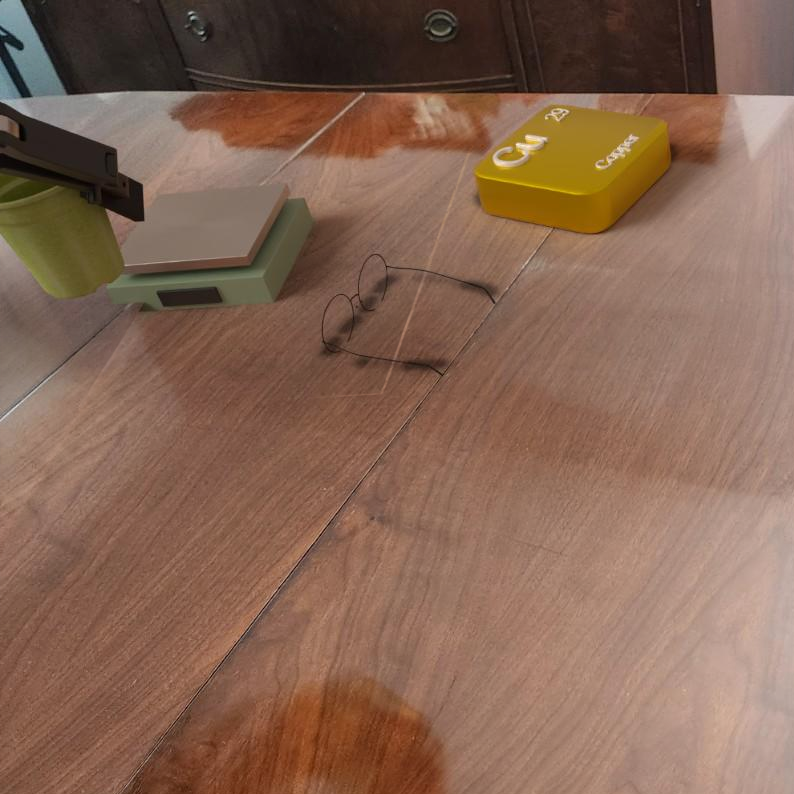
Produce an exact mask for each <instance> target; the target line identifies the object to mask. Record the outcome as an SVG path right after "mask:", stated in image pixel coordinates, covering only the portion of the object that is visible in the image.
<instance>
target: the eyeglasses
mask: <svg viewBox="0 0 794 794" xmlns="http://www.w3.org/2000/svg"><path fill="white" fill-rule="evenodd" d="M373 256H379V257H380V258H381V259H382V261H383V263H384V266H385V272H386V273H385V274H386V283H385V288H384V291H383V295H382V297H381V300H380V302H383V300H384V297H385V296H386V291H387V288H388V282H389V281H388V279H389V276H388V275H389V274H388V268H391V269H397V270H411V271H419V272H420V271H421V272H426V273H431V274H434V275H438V276H441V277H444V278H447V279H451V280H454V281H457V282H461V283H464V284H467V285H469V286H471V287H475V288H478V289H482V290H483V291H485V293H486V294H487V296H488V298H489V299H490V300H491V302H492V304H493V305H495V304H497V302H496V301H495V299H494V298H493V297H492V295H491V294H490V292H489V291H488V290H487V288H486V287H484V286H481V285H478V284H475V283H472V282H468V281H465V280H461V279H458V278H454V277H452V276H447V275H444V274H440V273H438V272H435V271H431V270H426V269H420V268H412V267H411V268H410V267H396V266H391V265H387V263H386V261H385V258H384V257H383V256H382V255H380V254H378V253H373V254H371V255H369V256H368V257H367V258H366V259H365V261H364V262H363V263H362V264H363V265H362V266H361V269H360V272H359V276H358V280H357V293H355V294H354V295H352V296H351V297H350V298H349V296H348V295H346V294H345V293H338V294H336V295H334V296H333V297H332V298H331V299H330V300H329V301H328V303H327V305H326V307H325V309H324V312H323V315H322V320H321V321H322V322H321V339H322V341H321V342H322V344H324V346H325V348H326V350H328V351H329V352H330V353H334V354H336V353H339V352H341V351H343V352H346V353H348V354H352V355H355V356H358V357H363V358H368V359H376V360H382V361H388V362H394V363H402V364H407V365H413V366H422V367H428V368H430V369H431V370H432V371H434V372H435V373H437V374H438V375H440V376H441V377H443V376H444V374H443V372H441V371H439V370H437V369H436V368H435V367H433V366H431V365H429V364H425V363H420V362H412V361H402V360H397V359H390V358H389V359H388V358H383V357H376V356H369V355H362V354H358V353H355V352H351V351H349V350H346V349H344V348H342V347H339V346H336V345H334V344H333V343H330V342H326V341H325V338H324V319H325V316H326V313H327V309H328V308H329V305H331V303H332V301H333V300H334V299H335V298H336V297H338V296H343V297H346V298H347V300H348V301H349V303H350V306H351V310H352V325H351V329H350V334H349V336H348V339H347V340H346V343H348V342H349V341H350V339H351V336H352V334H353V330H354V325H355V309H354V305H353V302H352V301H353V299H354V298H355V297H358V301H359V303H360V305H361V307H362V308H363V309H364V311H366V312H373V311H375V310H376V307H374V308H373V309H367V308H366V307H364V305H363V303H364V301H363V299H362V300H361V297H360V296H361V295H360V281H361V275H362V272H363V269H364V266H365V265H366V263H367V262H368V260H370V258H371V257H373ZM355 308H356V309H359V306H358V305H357V303H355ZM327 345H330V346H332V347H334V348H337V349H338V350H336V351H333V350H331V349H329V347H328V346H327Z"/></svg>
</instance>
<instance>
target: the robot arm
mask: <svg viewBox="0 0 794 794" xmlns="http://www.w3.org/2000/svg"><path fill="white" fill-rule="evenodd" d="M0 173H2V174H7V175H11V176H16V177H20V178H25V179H29V180H34V181H38V182H42V183H47V184H51V185H56V186H60V187H65V188H69V189H74V190H78V191H80V197H81V198H83V199H86V200H87V204H97V205H99V206H101V207H103V208H106V210H107V211H110V212H111V213H113V214H117V215H119V216H121V217H123V218H126V219H128V220H130V221H132V222H135V223H138V222H142V221H145V218H144V214H145V200H144V199H145V198H144V184H143V183H142V182H140V181H137V180H135V179H133V178H132V177H130V176H129V175H128V176H127V175H126V174H123V173H122V172H120V171H119V160H118V149H117V148H115V147H113V146H110V145H108V144H105V143H102V142H100V141H96V140H94V139H91V138H89V137H85V136H83V135H80V134H77V133H75V132H72V131H69V130H68V129H67V130H66V129H64V128H62V127H58V126H55V125H53V124H51V123H48V122H45V121H43V120H40V119H37V118H34V117H31V116H28V115H26V114H24V113H22V112H20V111H18V110H17V109H15V108H13V107H12V106H10V105H9V104H7V103H5V102H2V101H0Z"/></svg>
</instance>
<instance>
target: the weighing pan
mask: <svg viewBox="0 0 794 794" xmlns="http://www.w3.org/2000/svg"><path fill="white" fill-rule="evenodd" d="M290 194H291V189H290V187H289V184H288V183H287V182H284V183H273V184H263V185H250V186H240V187H238V186H237V187H229V188H217V189H205V190H195V191H183V192H172V193H161V194H157V195H156V196H155V198H154V199H153V201H152V202H151V203H150V205H149V206H148V208H147V209H146V210H145V211H144V218H145V221H142V222H137V224H136V225H135V226H134V228H133V229H132V231H131V232H130V234H129V235H128V237H127V238H126V240H125V241H124V243H123V244H122V246H121V247H119V249H120V252H121V254H122V257H123V260H124V269H123V272H122V273H121V275H127V274H140V273H153V272H166V271H179V270H192V269H205V268H219V267H232V266H245V265H251V264H252V262H253V260H254V258H255V256H256V254H257V253H258V251H259V249H260V247H261V245H262V243H263V242H264V240H265V238H266V236H267V234H268V232H269V231H270V229H271V227H272V225H273V223H274V221H275V220H276V218H277V216H278V214H279V212H280V210H281V209H282V207H283V205H284V203H285V201H286V199H289V196H290Z"/></svg>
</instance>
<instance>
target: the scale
mask: <svg viewBox="0 0 794 794" xmlns="http://www.w3.org/2000/svg"><path fill="white" fill-rule="evenodd" d="M314 223H315V222H314V220H313V217H312V214H311V211H310V209H309V206H308V204H307V201H306V198H305V197H295V198H287V199H286V201H285V203H284V205H283V207H282V209H281V210H280V212H279V214H278V216H277V218H276V220H275V221H274V223H273V225H272V227H271V229H270V231H269V232H268V234H267V236H266V238H265V240H264V242H263V243H262V245H261V247H260V249H259V251H258V253H257V254H256V256H255V258H254V260H253V262H252V264H251V265H245V266H232V267H219V268H205V269H192V270H179V271H166V272H153V273H140V274H127V275H120V276H119V277H118V278H117V279H116V280H115V281H114V282H112V283H107V286H106V287H105V289H106V291H107V293H108V295H109V296H110V298H111V300H112V302H113V304H114V305H121V304H122V305H123V304H135V303H137V304H138V303H143V304H142V305H141V307H140V309H139V310H138V313H145V312H159V311H174V310H175V311H176V310H188V309H201V308H204V309H205V308H217V307H231V306H245V305H246V306H247V305H260V304H261V305H262V304H273V303H275V302H276V300H277V298H278V296H279V294H280V292H281V290H282V289H283V286H284V284H285V282H286V280H287V278H288V276H289V274H290V272H291V270H292V269H293V266H294V264H295V262H296V260H297V258H298V256H299V255H300V252H301V250H302V249H303V246H304V244H305V242H306V240H307V239H308V237H309V235H310V232H311V230H312V228H313V227H314V225H315V224H314Z"/></svg>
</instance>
